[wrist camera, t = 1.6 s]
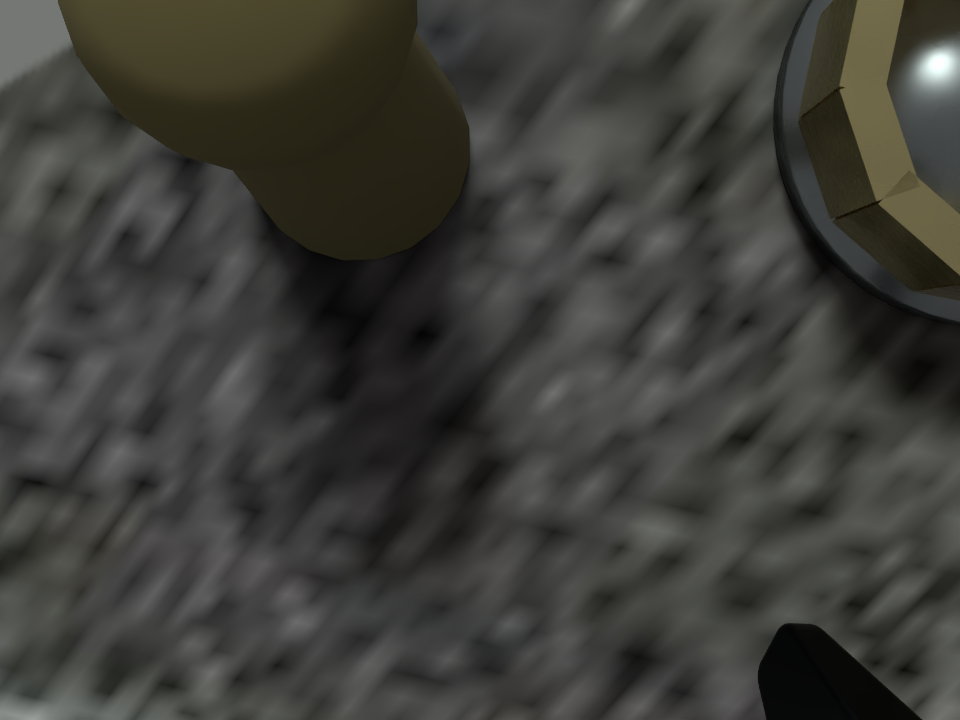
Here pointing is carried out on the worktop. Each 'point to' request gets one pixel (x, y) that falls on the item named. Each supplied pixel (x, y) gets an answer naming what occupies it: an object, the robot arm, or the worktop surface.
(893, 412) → the worktop surface
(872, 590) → the worktop surface
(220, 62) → the cork
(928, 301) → the collar socket
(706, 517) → the worktop surface
